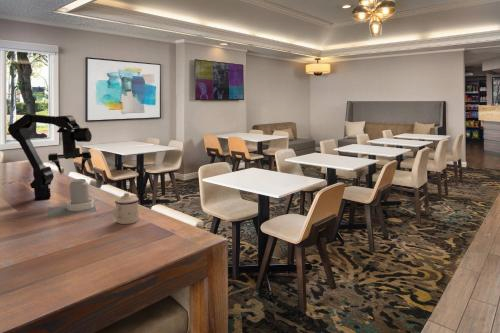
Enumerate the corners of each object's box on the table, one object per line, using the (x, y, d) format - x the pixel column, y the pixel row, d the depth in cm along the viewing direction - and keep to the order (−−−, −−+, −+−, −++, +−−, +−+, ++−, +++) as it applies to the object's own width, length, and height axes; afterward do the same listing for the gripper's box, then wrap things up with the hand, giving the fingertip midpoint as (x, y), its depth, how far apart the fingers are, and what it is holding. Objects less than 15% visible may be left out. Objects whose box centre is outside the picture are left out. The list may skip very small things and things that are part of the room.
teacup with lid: (127, 216, 160) (126, 189, 158) (144, 219, 156) (143, 191, 154) (105, 224, 149) (103, 196, 147) (123, 228, 145) (121, 198, 143)
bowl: (67, 212, 164) (66, 205, 163) (67, 206, 174) (66, 199, 173) (95, 209, 168) (94, 202, 168) (93, 203, 178) (92, 197, 178)
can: (77, 209, 166) (74, 182, 164) (67, 206, 170) (65, 180, 168) (92, 205, 172) (90, 179, 170) (83, 202, 176) (81, 177, 174)
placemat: (47, 218, 157) (47, 217, 157) (48, 208, 171) (48, 207, 171) (96, 212, 165) (96, 211, 165) (94, 203, 179) (94, 202, 179)
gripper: (46, 144, 171) (49, 178, 174) (90, 142, 179) (93, 174, 182) (47, 142, 181) (50, 173, 184) (89, 140, 189) (91, 170, 192)
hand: (71, 173), depth 185 cm, fingers open, 9 cm apart
